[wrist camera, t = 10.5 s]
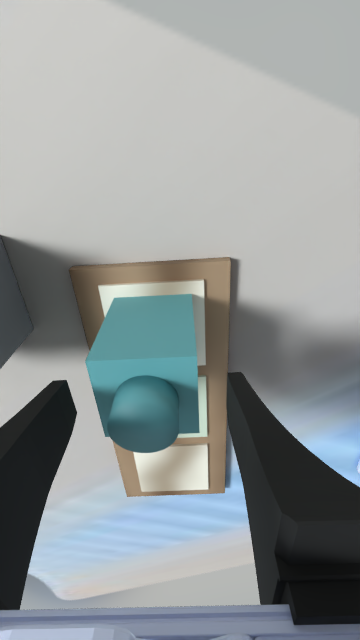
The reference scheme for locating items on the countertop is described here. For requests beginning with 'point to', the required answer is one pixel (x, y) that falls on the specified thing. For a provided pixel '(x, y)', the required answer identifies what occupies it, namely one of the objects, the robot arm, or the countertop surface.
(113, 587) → the countertop surface
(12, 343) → the grey cube
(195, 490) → the board
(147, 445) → the pawn
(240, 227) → the countertop surface
